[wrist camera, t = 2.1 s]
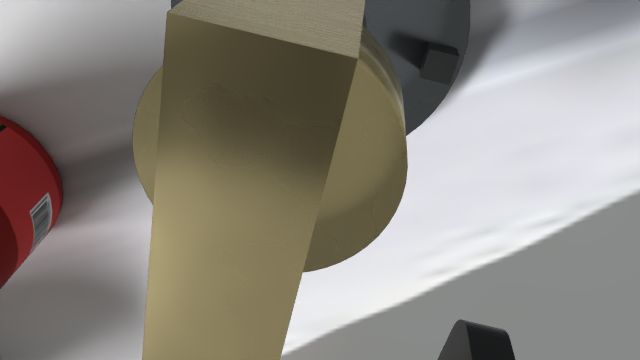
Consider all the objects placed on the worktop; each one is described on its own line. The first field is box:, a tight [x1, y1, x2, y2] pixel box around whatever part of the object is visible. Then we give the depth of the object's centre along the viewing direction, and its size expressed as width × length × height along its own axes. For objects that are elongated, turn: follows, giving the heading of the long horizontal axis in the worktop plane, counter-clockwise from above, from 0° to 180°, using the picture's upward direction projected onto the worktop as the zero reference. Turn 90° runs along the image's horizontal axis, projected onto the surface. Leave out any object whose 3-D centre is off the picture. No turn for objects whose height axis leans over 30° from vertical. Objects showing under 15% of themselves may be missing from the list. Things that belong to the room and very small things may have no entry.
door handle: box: [132, 0, 408, 360], centre depth 13 cm, size 10×6×8 cm, turn 168°
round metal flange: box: [171, 0, 470, 136], centre depth 20 cm, size 12×12×10 cm
